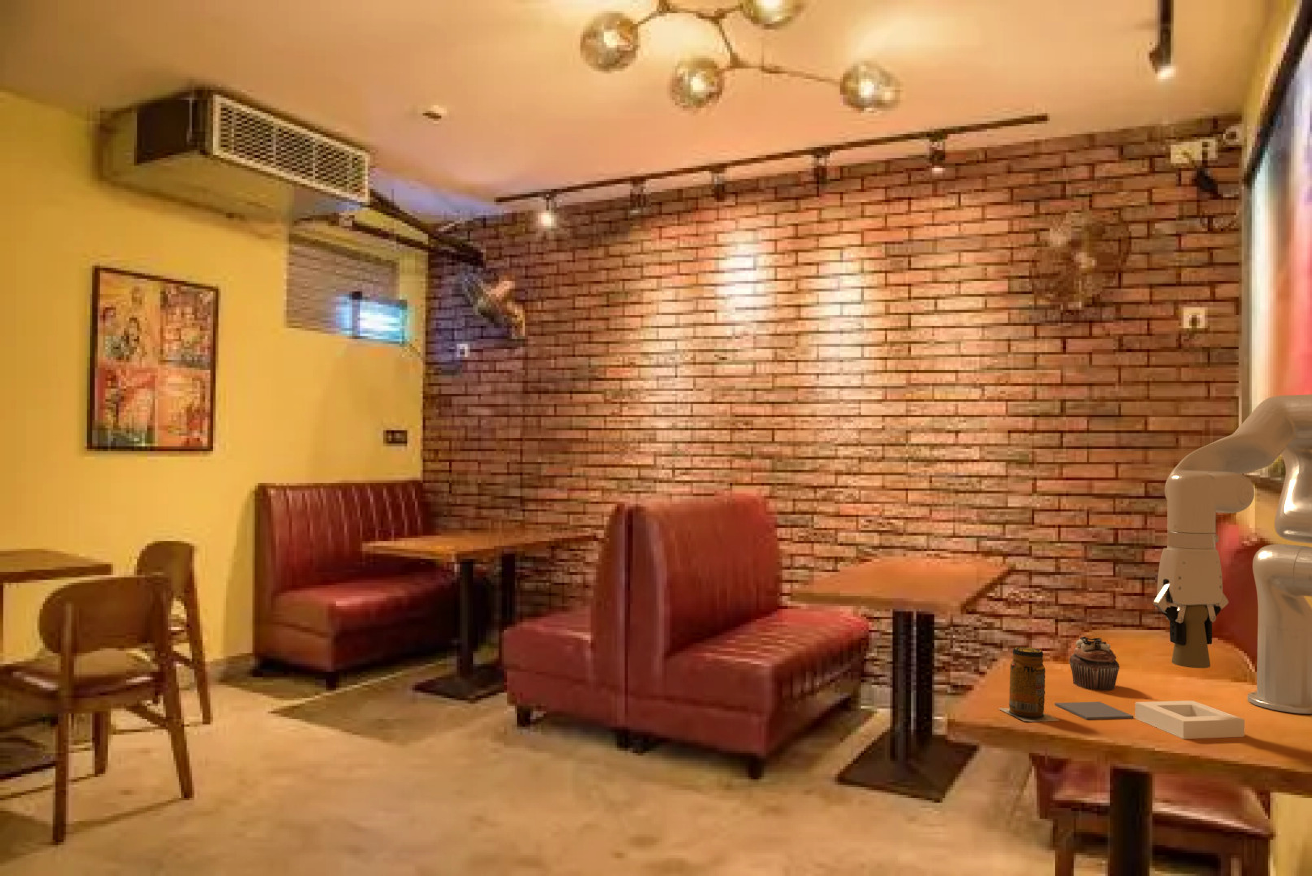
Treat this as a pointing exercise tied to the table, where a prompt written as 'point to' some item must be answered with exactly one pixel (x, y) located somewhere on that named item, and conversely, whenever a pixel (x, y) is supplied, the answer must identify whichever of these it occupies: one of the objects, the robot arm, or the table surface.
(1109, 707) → the coaster
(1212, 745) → the table surface
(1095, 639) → the cupcake
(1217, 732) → the holder
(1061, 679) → the table surface
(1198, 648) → the cork
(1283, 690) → the robot arm
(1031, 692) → the condiment
